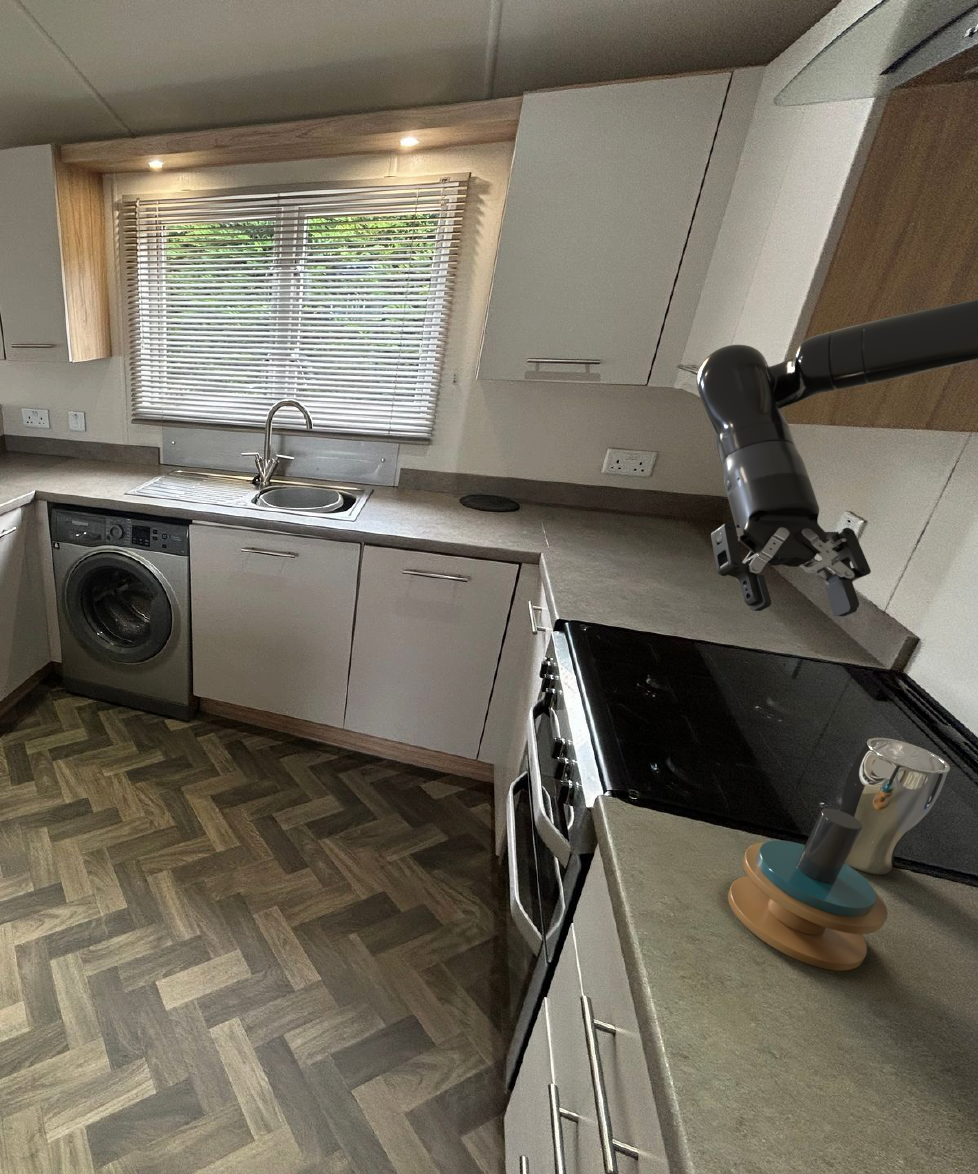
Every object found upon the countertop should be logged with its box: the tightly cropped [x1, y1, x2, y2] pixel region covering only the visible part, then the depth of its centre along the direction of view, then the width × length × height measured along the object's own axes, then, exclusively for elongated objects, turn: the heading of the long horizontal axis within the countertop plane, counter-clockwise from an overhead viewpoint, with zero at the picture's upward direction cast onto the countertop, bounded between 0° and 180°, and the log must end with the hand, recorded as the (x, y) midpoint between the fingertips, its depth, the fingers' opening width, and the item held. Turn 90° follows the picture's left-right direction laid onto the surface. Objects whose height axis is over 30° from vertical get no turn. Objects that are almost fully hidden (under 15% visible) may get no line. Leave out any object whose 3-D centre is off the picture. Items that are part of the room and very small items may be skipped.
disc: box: [756, 808, 877, 917], centre depth 64 cm, size 9×9×8 cm
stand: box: [727, 842, 889, 972], centre depth 67 cm, size 11×11×6 cm
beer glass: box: [839, 737, 951, 876], centre depth 74 cm, size 7×7×15 cm
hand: (803, 611), depth 70 cm, fingers open, 8 cm apart
